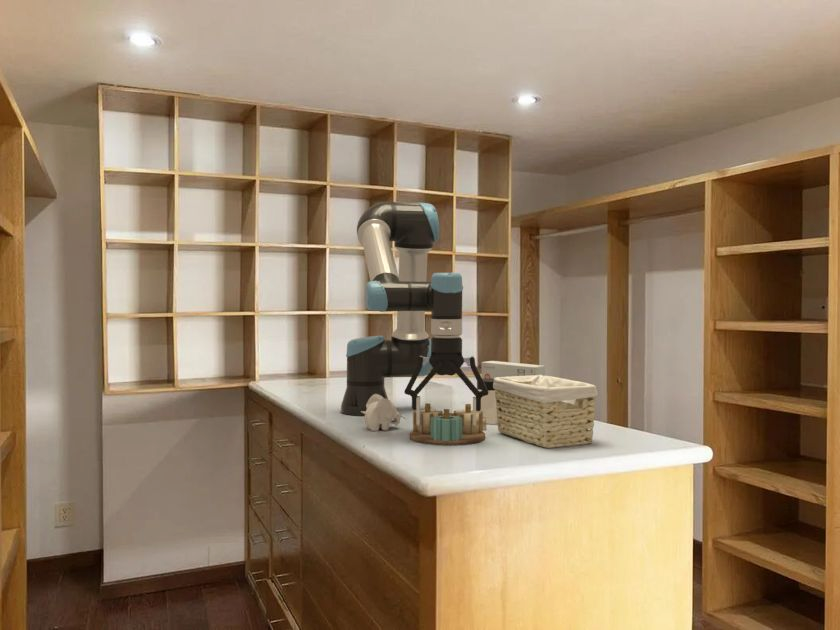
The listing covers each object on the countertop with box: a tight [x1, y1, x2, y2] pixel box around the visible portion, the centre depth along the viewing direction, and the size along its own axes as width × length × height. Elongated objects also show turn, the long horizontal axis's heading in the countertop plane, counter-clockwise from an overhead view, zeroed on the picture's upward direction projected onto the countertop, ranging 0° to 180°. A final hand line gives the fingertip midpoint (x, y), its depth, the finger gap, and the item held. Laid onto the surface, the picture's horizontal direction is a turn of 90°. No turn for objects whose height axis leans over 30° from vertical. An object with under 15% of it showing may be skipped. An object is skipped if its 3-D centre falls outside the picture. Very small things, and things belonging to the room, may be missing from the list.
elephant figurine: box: [361, 394, 407, 432], centre depth 186 cm, size 10×12×9 cm
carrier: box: [409, 403, 486, 446], centre depth 174 cm, size 19×19×8 cm
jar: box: [476, 378, 498, 425], centre depth 197 cm, size 9×8×12 cm
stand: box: [483, 417, 487, 431], centre depth 186 cm, size 6×6×3 cm
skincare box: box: [481, 360, 546, 379], centre depth 207 cm, size 21×6×16 cm, turn 43°
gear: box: [431, 416, 462, 441], centre depth 168 cm, size 8×8×5 cm
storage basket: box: [493, 375, 599, 449], centre depth 173 cm, size 24×16×15 cm
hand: (446, 424), depth 168 cm, fingers open, 13 cm apart
